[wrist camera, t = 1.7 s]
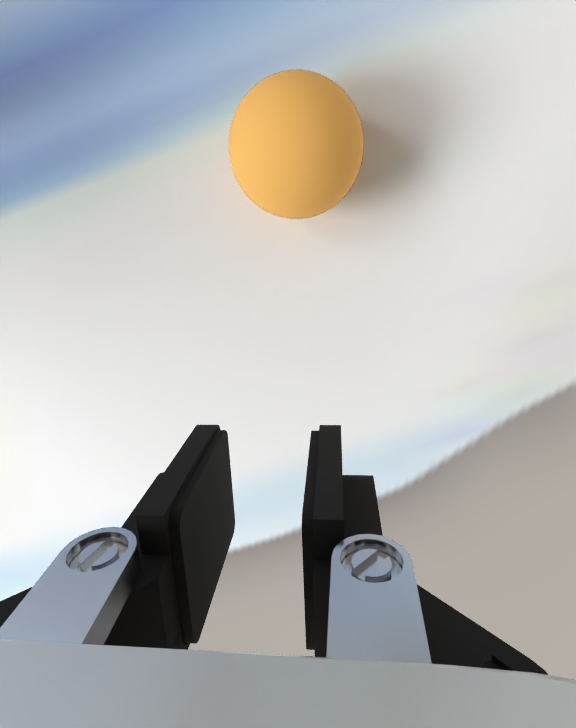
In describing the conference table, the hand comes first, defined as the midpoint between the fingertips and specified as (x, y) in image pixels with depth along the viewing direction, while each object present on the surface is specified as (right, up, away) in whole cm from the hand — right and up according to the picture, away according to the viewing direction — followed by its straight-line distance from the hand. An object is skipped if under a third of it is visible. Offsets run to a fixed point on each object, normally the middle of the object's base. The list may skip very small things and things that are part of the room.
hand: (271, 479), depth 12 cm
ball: (+1, +13, +9) cm, 15 cm away
